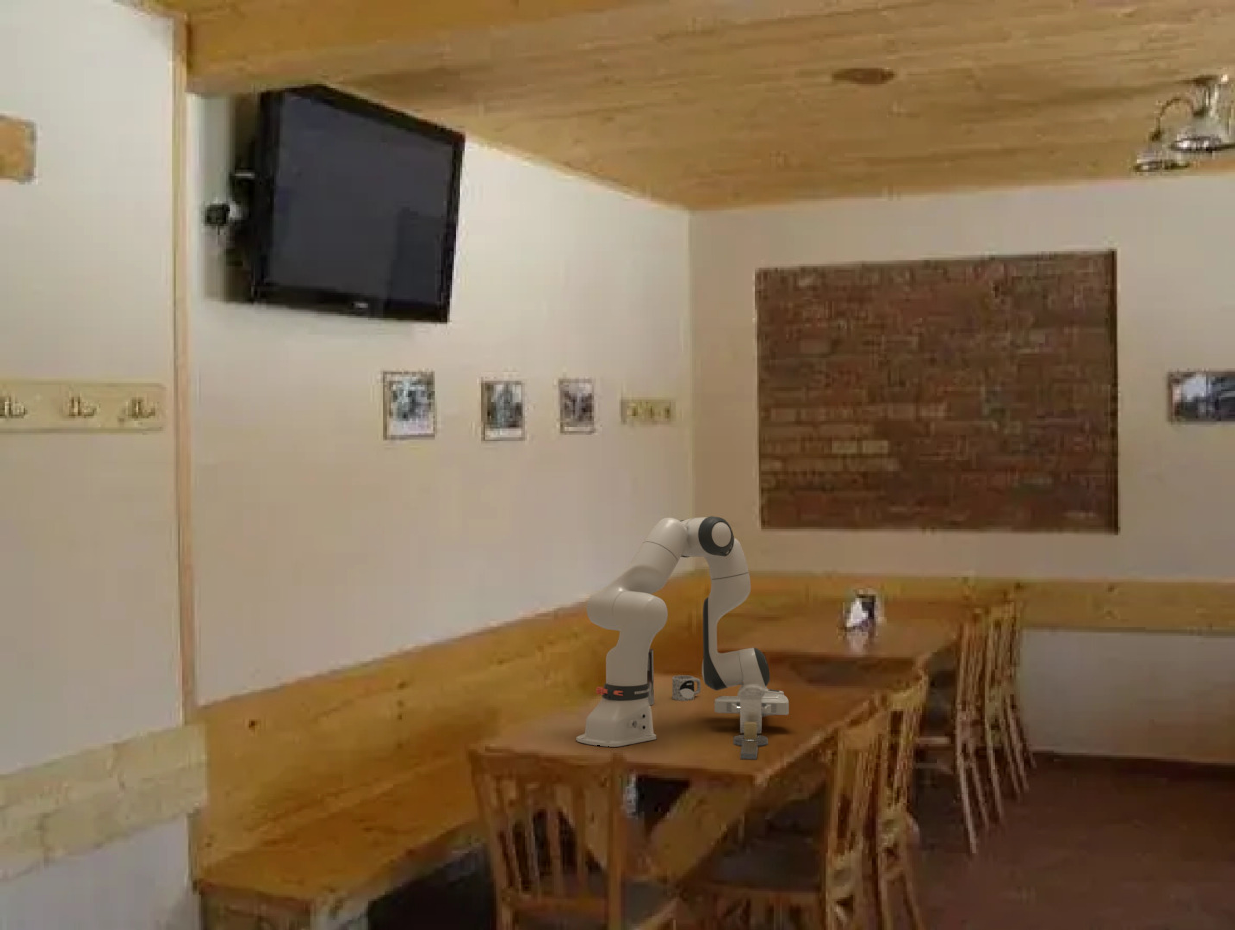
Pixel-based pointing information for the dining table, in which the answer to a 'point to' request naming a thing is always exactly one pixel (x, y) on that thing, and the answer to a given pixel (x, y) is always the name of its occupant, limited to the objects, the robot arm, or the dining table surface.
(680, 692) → the mug
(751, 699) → the upright grey pillar
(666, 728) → the dining table surface
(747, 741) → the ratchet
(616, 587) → the robot arm
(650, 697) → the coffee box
